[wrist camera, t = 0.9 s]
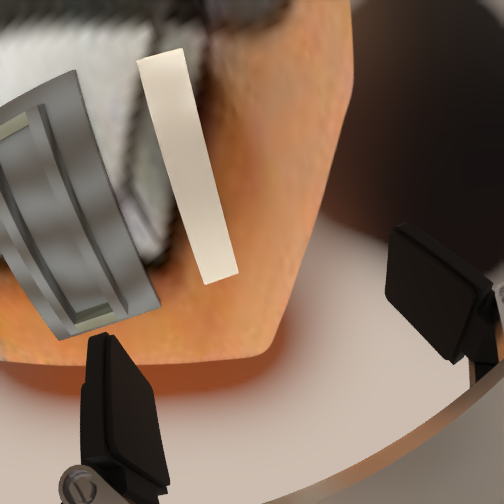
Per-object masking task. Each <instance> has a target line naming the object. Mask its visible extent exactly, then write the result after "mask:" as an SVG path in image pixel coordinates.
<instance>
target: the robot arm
mask: <svg viewBox="0 0 504 504" xmlns="http://www.w3.org/2000/svg"><path fill="white" fill-rule="evenodd" d="M492 286H493V283H492V282H491V281H490V280H489V279H487V278H486V277H485V276H484V275H482V274H481V273H480V272H478V271H477V270H476V269H475V268H473V267H472V266H470V265H469V264H468V263H467V262H465V261H464V260H462V259H461V258H459V257H458V256H457V255H456V254H454V253H453V252H451V251H450V250H449V249H447V248H446V247H445V246H443V245H442V244H440V243H439V242H437V241H436V240H434V239H433V238H432V237H430V236H429V235H427V234H426V233H424V232H423V231H421V230H420V229H418V228H417V227H415V226H414V225H412V224H411V223H409V222H405V223H403V224H401V225H398V226H395V227H394V228H393V229H392V231H391V233H390V235H389V247H388V261H387V275H386V285H385V295H386V298H387V300H388V301H389V302H390V303H391V304H392V305H393V306H394V307H395V308H396V309H397V310H398V311H399V312H400V313H401V314H402V315H403V316H404V317H405V318H406V319H407V320H408V322H410V323H411V325H412V326H413V327H414V328H415V329H416V330H417V331H418V332H419V333H420V334H421V335H422V336H423V337H424V338H425V339H426V340H427V341H428V342H429V344H430V345H431V346H432V347H433V348H434V349H435V350H436V351H437V352H438V353H439V354H440V355H441V356H442V357H443V358H444V359H445V360H449V361H450V362H451V363H452V364H453V365H454V364H456V363H457V362H458V361H459V360H461V359H462V358H463V357H464V355H466V356H467V357H468V360H469V379H470V389H469V390H467V391H466V392H465V393H464V394H462V395H461V396H460V397H459V398H457V399H456V400H455V401H453V402H452V403H451V404H450V405H448V406H447V407H446V408H444V409H443V410H442V411H440V412H439V413H437V414H436V415H435V416H433V417H432V418H430V419H429V420H428V421H426V422H425V423H424V424H422V425H421V426H419V427H417V428H416V429H414V430H413V431H411V432H410V433H408V434H407V435H405V436H404V437H402V438H401V439H399V440H397V441H396V442H394V443H392V444H391V445H389V446H387V447H386V448H384V449H382V450H381V451H379V452H377V453H375V454H374V455H372V456H370V457H368V458H366V459H364V460H363V461H361V462H359V463H357V464H355V465H353V466H351V467H349V468H347V469H345V470H343V471H341V472H339V473H337V474H335V475H333V476H331V477H329V478H326V479H324V480H322V481H320V482H317V483H315V484H313V485H311V486H308V487H306V488H303V489H301V490H298V491H296V492H293V493H291V494H288V495H286V496H283V497H280V498H278V499H275V500H272V501H269V502H266V503H263V504H504V282H503V283H500V284H499V285H498V286H497V287H496V289H495V292H494V291H493V290H492ZM80 450H81V465H75V466H72V467H70V468H68V469H67V470H66V471H65V472H64V473H63V475H62V476H61V478H60V481H59V495H60V499H61V500H62V503H61V504H159V500H158V496H159V495H164V494H168V491H167V487H166V486H168V485H170V478H169V473H168V469H167V465H166V460H165V455H164V450H163V445H162V440H161V435H160V429H159V423H158V417H157V411H156V405H155V399H154V393H153V390H152V387H151V385H150V384H149V382H148V381H147V380H146V378H145V377H144V376H143V374H142V373H141V372H140V370H139V369H138V368H137V366H136V365H135V363H134V362H133V361H132V359H131V358H130V357H129V355H128V354H127V352H126V351H125V349H124V348H123V347H122V345H121V344H120V342H119V341H118V339H117V338H116V337H115V335H109V334H108V333H107V332H104V333H101V334H98V335H95V336H91V337H90V338H89V340H88V348H87V361H86V377H85V383H84V384H83V385H82V388H81V405H80Z"/></svg>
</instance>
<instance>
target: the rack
mask: <svg viewBox="0 0 504 504" xmlns="http://www.w3.org/2000/svg"><path fill="white" fill-rule="evenodd" d="M0 251H1V253H2V255H3V256H4V258H5V260H6V262H7V263H8V265H9V267H10V269H11V270H12V272H13V274H14V275H15V277H16V279H17V280H18V282H19V284H20V285H21V287H22V289H23V290H24V292H25V293H26V295H27V296H28V298H29V299H30V301H31V302H32V304H33V305H34V307H35V308H36V310H37V311H38V313H39V314H40V316H41V317H42V319H43V320H44V321H45V323H46V324H47V326H48V327H49V328H50V330H51V331H52V332H53V334H54V335H55V336H56V338H57V339H58V340H59V341H60V340H64V339H67V338H70V337H73V336H76V335H79V334H82V333H85V332H89V331H92V330H95V329H98V328H101V327H104V326H107V325H110V324H113V323H116V322H119V321H122V320H125V319H128V318H131V317H134V316H137V315H140V314H143V313H146V312H149V311H152V310H155V309H158V308H161V302H160V300H159V298H158V295H157V293H156V291H155V289H154V287H153V285H152V283H151V281H150V278H149V276H148V274H147V272H146V270H145V267H144V265H143V263H142V261H141V258H140V256H139V254H138V251H137V249H136V247H135V244H134V242H133V240H132V237H131V235H130V233H129V230H128V228H127V225H126V223H125V220H124V218H123V215H122V213H121V210H120V208H119V205H118V203H117V200H116V197H115V195H114V192H113V189H112V187H111V184H110V181H109V179H108V176H107V173H106V170H105V167H104V164H103V162H102V159H101V156H100V153H99V150H98V147H97V144H96V141H95V138H94V134H93V131H92V128H91V125H90V122H89V118H88V115H87V112H86V108H85V105H84V101H83V98H82V94H81V90H80V87H79V83H78V79H77V75H76V71H75V70H72V71H69V72H67V73H65V74H63V75H60V76H58V77H56V78H54V79H52V80H50V81H48V82H46V83H44V84H42V85H40V86H38V87H36V88H34V89H32V90H30V91H28V92H26V93H24V94H23V95H21V96H19V97H17V98H15V99H14V100H12V101H10V102H8V103H7V104H5V105H3V106H2V107H0Z"/></svg>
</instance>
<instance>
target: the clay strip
mask: <svg viewBox="0 0 504 504" xmlns="http://www.w3.org/2000/svg"><path fill="white" fill-rule="evenodd" d="M137 64H138V68H139V72H140V76H141V80H142V84H143V88H144V92H145V95H146V99H147V103H148V107H149V110H150V114H151V118H152V121H153V125H154V128H155V132H156V135H157V139H158V142H159V146H160V149H161V153H162V156H163V159H164V163H165V166H166V169H167V173H168V176H169V179H170V182H171V186H172V189H173V192H174V195H175V198H176V202H177V205H178V208H179V211H180V214H181V217H182V220H183V223H184V226H185V229H186V232H187V235H188V238H189V241H190V244H191V247H192V250H193V253H194V256H195V259H196V262H197V265H198V267H199V270H200V273H201V276H202V279H203V282H204V284H205V285H206V284H209V283H212V282H215V281H218V280H221V279H223V278H226V277H229V276H232V275H235V274H238V273H239V272H238V268H237V264H236V261H235V257H234V253H233V249H232V246H231V242H230V238H229V234H228V230H227V227H226V223H225V219H224V215H223V211H222V207H221V203H220V200H219V196H218V192H217V188H216V184H215V180H214V176H213V172H212V168H211V164H210V160H209V156H208V152H207V148H206V144H205V140H204V136H203V132H202V128H201V124H200V120H199V116H198V112H197V108H196V104H195V99H194V95H193V91H192V87H191V83H190V79H189V74H188V70H187V66H186V62H185V57H184V53H183V49H182V48H180V49H176V50H172V51H168V52H164V53H160V54H157V55H153V56H150V57H147V58H143V59H140V60H137Z"/></svg>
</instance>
